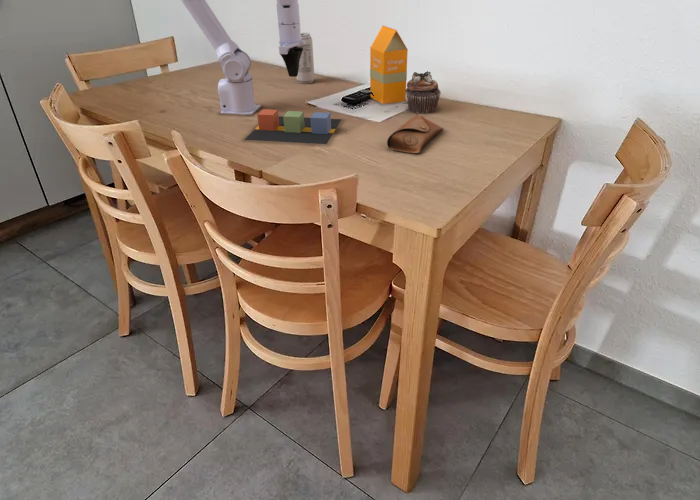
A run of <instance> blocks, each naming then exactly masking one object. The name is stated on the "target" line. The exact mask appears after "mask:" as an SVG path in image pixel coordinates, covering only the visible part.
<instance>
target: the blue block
mask: <svg viewBox="0 0 700 500" xmlns="http://www.w3.org/2000/svg"><path fill="white" fill-rule="evenodd" d="M310 118H311V133H312V134H328V133H329V131H330V129H331V119H332V117H331V112H319V111H315V112H313V113H312V115H311V116H310Z"/></svg>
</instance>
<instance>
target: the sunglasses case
mask: <svg viewBox="0 0 700 500" xmlns="http://www.w3.org/2000/svg"><path fill="white" fill-rule="evenodd" d="M443 130H444V127H442V126H440V125H438V124H436V123H434V122H433V121H431V120H430V119H427V118H426V117H424V116H422V115H421V113H416V114H415V116H413V117H412V118H410V119H409V120H407V121H406V122H405V123H403V124H402V125H401V126H400V127H399V128H397V129H396V130H395V131H394V132H392V133H391V134H390V135H389V137H388V138H387V141H386V144H387V147H388V149H389V150H391V151H392V150H393V151H395V152H399V153H406V154H420V153H421V151H422V150H423V148H425V146H426V145H428V144H429V143H430V141H432V140H433V139H434V138H435V137H437V135H439V134H440V133H441V132H442V131H443Z"/></svg>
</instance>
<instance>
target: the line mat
mask: <svg viewBox="0 0 700 500" xmlns="http://www.w3.org/2000/svg"><path fill="white" fill-rule="evenodd" d="M341 121H342V119H341V118H331V129H330V131H329V133H328V134H312V133H311V117H304V124H305V128H304V129H303V130H302V132H301V133H291V132H285V129H284V119H283V116H279V126H278V128H277V129H276V130H275V131H267V130H259V125H257V126H256V127H255V128H254V130H252V131H251V133H249V135H247V137H246V138H245V139H244V141H258V142H259V141H260V142H277V143H296V144H311V145H313V144H314V145H327V144H328V142H329V141H330V139H331V138H332V136H333V134H334V133H335V131H336V129H337V128H338V126H339V124H340V123H341Z"/></svg>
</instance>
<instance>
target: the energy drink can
mask: <svg viewBox="0 0 700 500" xmlns="http://www.w3.org/2000/svg"><path fill="white" fill-rule="evenodd" d="M301 38H302V40H305V41H306V43H305V44H301V45H298V46H297V47H303V52H302V54H301V57H300V62H299V70H298V75H297V76H296V80H297V82H298V83H299V84H302V85H303V84H311V83H313V82H314V80H315V63H314V62H315V61H314V45H313V38H312V36H311V33H309V32H301Z"/></svg>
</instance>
